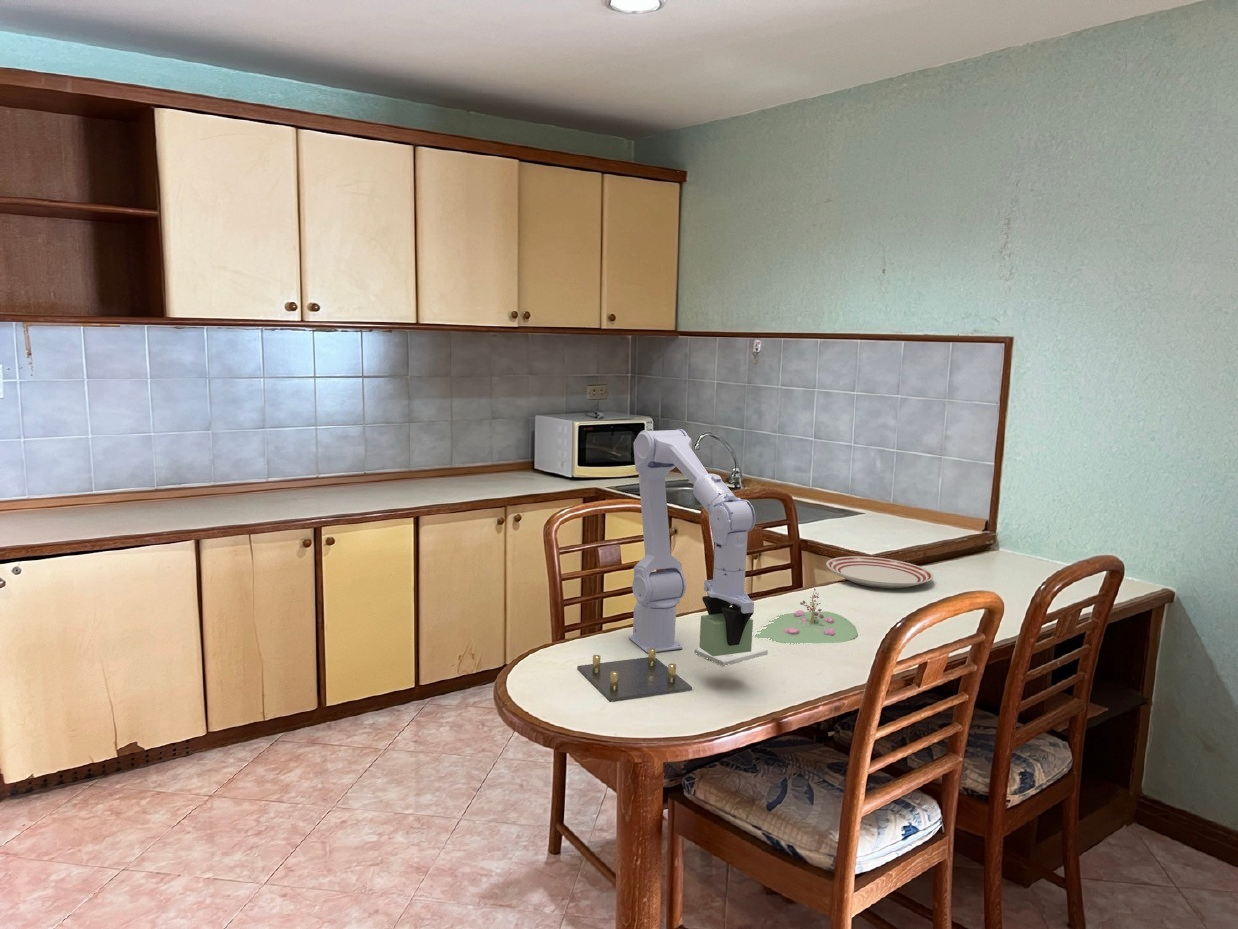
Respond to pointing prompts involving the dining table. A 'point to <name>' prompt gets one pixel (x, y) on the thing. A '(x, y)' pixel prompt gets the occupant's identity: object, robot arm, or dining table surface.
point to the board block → (722, 636)
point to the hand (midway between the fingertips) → (725, 639)
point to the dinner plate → (879, 572)
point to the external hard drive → (734, 655)
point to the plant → (809, 627)
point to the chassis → (633, 677)
